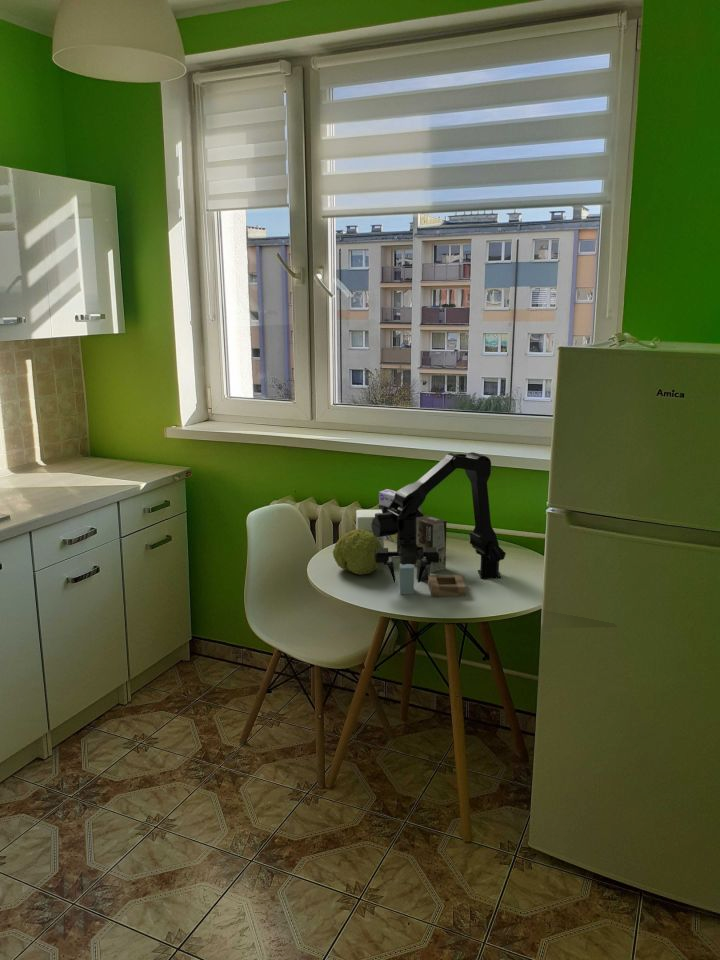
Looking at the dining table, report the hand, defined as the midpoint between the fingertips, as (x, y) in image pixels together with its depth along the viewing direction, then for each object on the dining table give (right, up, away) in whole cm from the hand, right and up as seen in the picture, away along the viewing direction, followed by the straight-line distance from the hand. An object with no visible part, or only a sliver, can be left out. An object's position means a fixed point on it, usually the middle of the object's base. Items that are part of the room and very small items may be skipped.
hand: (406, 582), depth 230 cm
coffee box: (+9, +2, +20) cm, 22 cm away
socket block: (+12, -3, +1) cm, 12 cm away
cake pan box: (0, +8, +45) cm, 46 cm away
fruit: (-14, +1, +17) cm, 22 cm away
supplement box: (-11, +5, +32) cm, 34 cm away
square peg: (0, -3, +1) cm, 3 cm away
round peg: (+6, 0, +11) cm, 12 cm away
